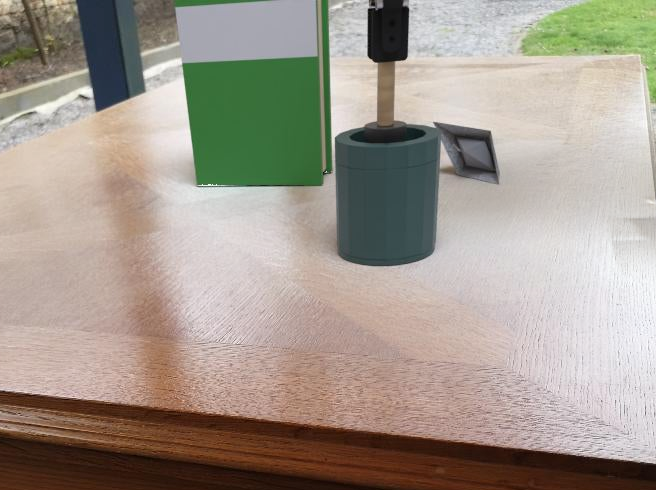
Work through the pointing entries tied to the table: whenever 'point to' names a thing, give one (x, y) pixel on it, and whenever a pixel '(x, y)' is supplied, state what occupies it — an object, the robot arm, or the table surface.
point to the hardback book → (257, 90)
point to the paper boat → (470, 151)
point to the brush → (385, 110)
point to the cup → (387, 196)
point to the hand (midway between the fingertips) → (387, 58)
